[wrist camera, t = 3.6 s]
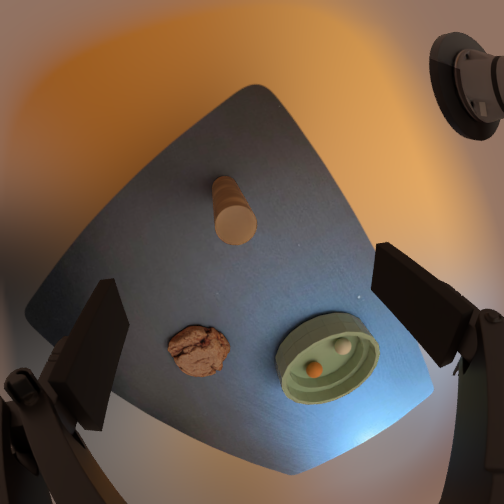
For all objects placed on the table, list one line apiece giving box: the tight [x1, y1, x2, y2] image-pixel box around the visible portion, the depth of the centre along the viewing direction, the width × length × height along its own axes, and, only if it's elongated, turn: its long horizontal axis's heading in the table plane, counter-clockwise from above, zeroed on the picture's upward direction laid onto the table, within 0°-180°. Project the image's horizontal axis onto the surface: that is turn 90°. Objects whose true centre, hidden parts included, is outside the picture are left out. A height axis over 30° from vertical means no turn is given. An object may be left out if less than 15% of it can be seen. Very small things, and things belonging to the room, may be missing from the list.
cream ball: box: [335, 338, 351, 355], centre depth 46 cm, size 3×3×3 cm
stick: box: [212, 176, 257, 245], centre depth 29 cm, size 3×3×15 cm
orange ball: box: [306, 362, 323, 378], centre depth 48 cm, size 3×3×3 cm
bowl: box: [275, 313, 380, 405], centre depth 46 cm, size 18×18×6 cm
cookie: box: [168, 326, 230, 377], centre depth 43 cm, size 10×11×3 cm
